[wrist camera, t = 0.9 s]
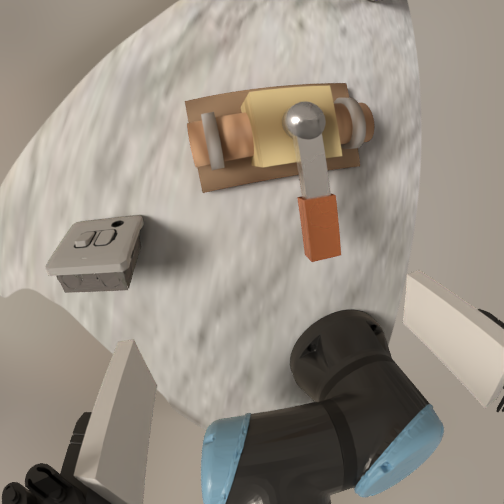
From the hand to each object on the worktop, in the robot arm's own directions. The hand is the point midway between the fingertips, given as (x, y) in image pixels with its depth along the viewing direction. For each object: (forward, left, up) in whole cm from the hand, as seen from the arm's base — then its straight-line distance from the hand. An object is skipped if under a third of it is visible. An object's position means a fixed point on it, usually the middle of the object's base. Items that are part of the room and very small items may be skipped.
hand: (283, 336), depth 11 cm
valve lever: (+4, -6, -13) cm, 15 cm away
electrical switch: (+1, +15, -23) cm, 27 cm away
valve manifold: (+9, -6, -22) cm, 25 cm away
